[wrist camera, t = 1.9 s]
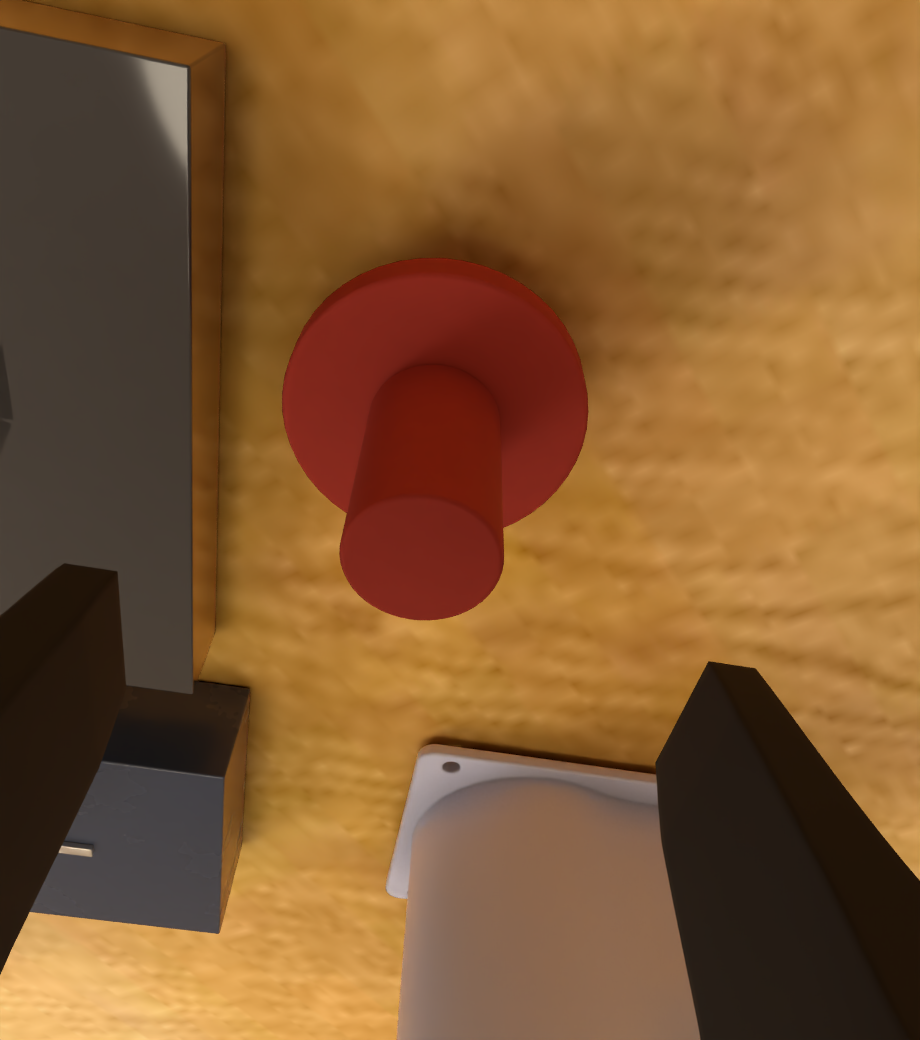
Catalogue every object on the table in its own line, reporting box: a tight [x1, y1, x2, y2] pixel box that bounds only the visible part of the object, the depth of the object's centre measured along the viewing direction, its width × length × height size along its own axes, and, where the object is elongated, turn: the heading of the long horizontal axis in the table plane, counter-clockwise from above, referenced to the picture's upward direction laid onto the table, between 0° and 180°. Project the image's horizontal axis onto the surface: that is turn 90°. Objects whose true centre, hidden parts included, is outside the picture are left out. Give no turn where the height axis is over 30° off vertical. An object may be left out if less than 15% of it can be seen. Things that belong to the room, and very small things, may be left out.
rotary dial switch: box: [30, 681, 250, 934], centre depth 24 cm, size 12×8×3 cm
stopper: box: [282, 258, 588, 620], centre depth 15 cm, size 6×6×7 cm
